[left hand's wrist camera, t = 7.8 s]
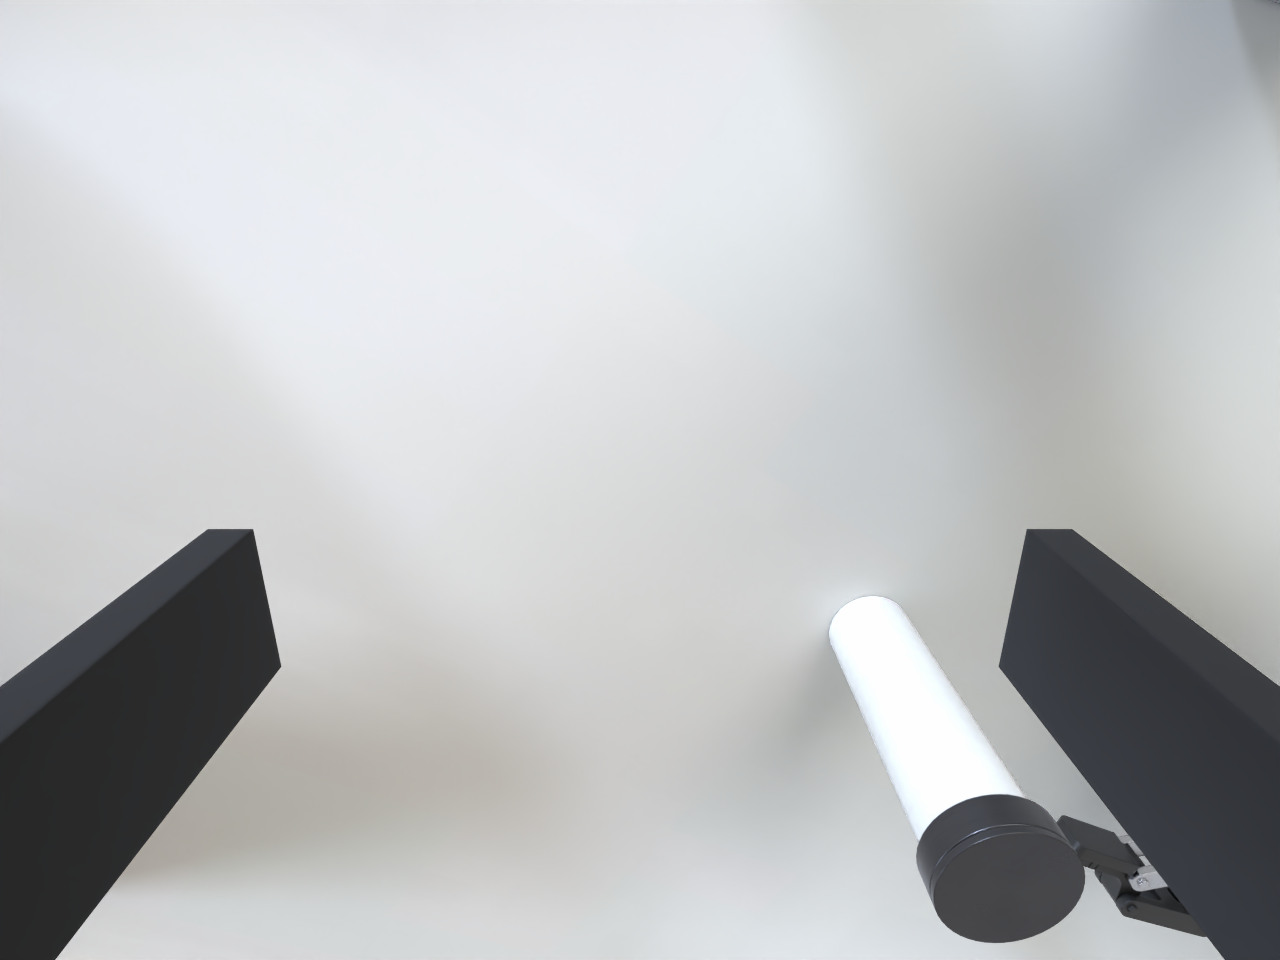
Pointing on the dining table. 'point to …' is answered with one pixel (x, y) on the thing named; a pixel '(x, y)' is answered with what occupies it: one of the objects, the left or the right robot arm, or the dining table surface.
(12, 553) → the dining table surface
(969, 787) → the cylinder
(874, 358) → the dining table surface
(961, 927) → the lid
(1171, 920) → the right robot arm
